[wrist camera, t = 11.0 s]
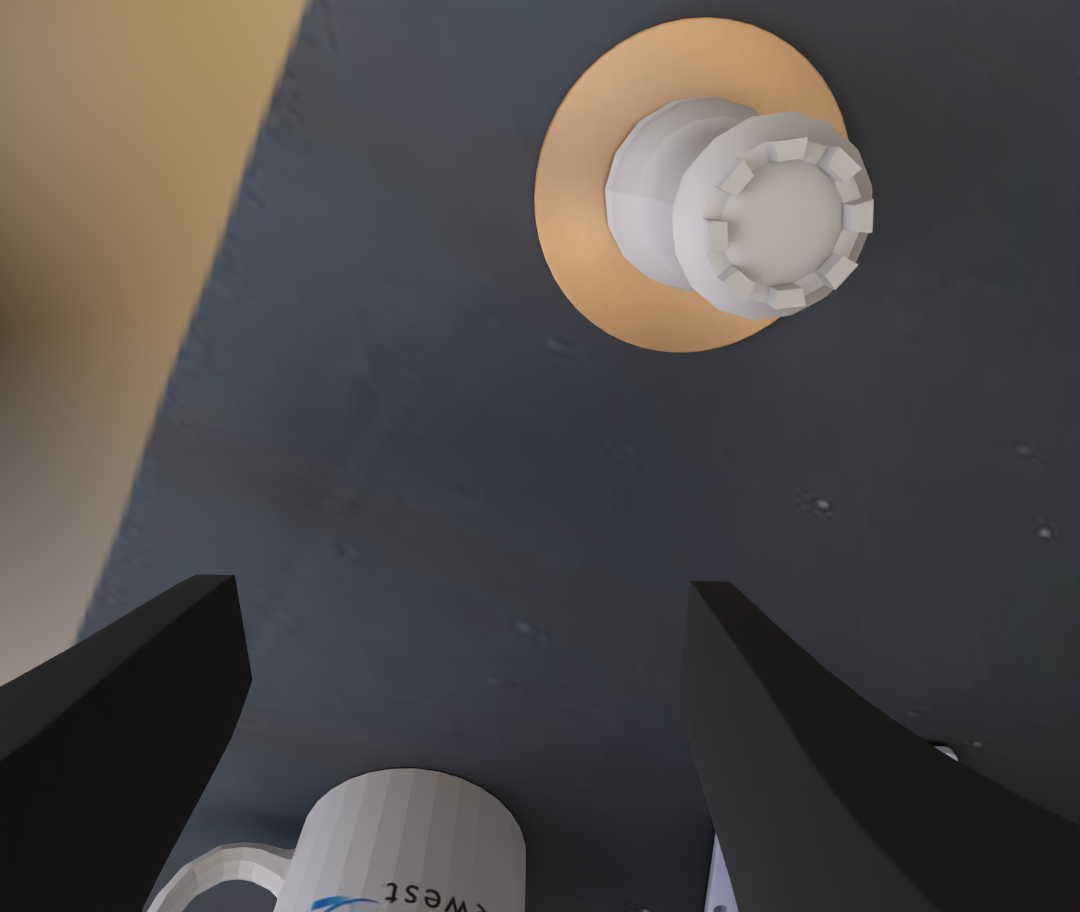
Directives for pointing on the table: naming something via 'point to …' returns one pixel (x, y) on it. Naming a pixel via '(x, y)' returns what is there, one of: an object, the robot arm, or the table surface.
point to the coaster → (600, 129)
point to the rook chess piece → (740, 205)
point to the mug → (380, 852)
